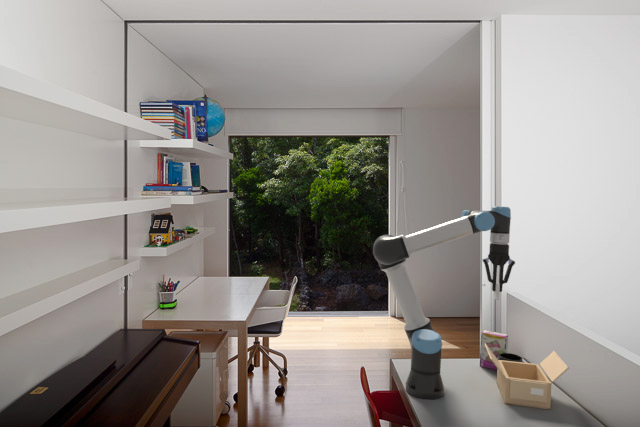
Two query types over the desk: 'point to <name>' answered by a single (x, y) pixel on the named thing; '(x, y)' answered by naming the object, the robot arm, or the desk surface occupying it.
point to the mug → (510, 357)
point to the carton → (524, 384)
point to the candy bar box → (492, 347)
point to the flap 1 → (494, 359)
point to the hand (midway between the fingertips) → (496, 299)
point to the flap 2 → (554, 366)
